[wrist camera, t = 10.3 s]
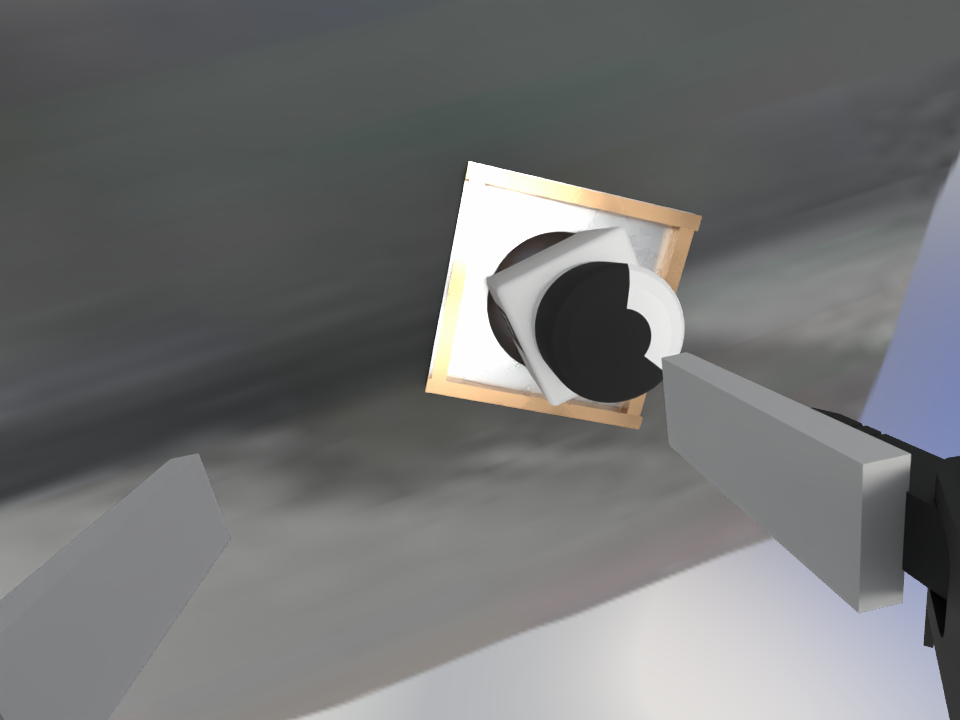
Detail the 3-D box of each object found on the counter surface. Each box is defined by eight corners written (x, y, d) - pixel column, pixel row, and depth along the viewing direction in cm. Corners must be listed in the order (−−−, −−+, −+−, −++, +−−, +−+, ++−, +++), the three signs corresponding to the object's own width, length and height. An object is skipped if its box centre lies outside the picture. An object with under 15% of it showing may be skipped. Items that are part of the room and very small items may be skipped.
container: (529, 375, 35) (576, 448, 22) (483, 279, 33) (506, 299, 20) (626, 328, 35) (729, 375, 22) (585, 228, 33) (671, 217, 20)
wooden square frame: (426, 386, 36) (424, 395, 34) (468, 163, 32) (469, 157, 30) (627, 422, 38) (638, 432, 35) (687, 214, 34) (703, 212, 32)
